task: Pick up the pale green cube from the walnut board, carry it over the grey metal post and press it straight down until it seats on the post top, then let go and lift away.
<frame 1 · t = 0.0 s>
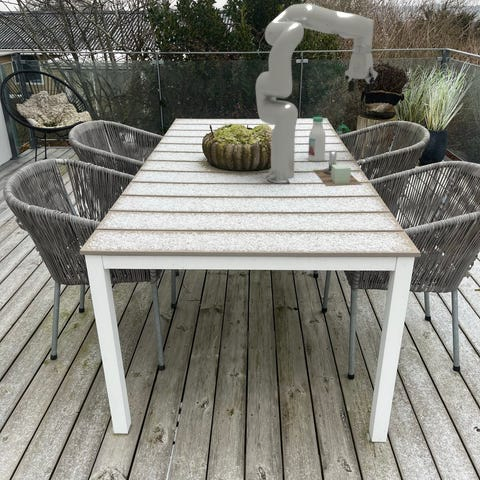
hand: (359, 92, 208), 31 cm above the table, tool pointing down, fingers open, 9 cm apart
board: (335, 180, 193), on the table
milk bottle: (316, 160, 225), on the table
pale green cube: (340, 181, 186), point 1 cm above the table, touching board
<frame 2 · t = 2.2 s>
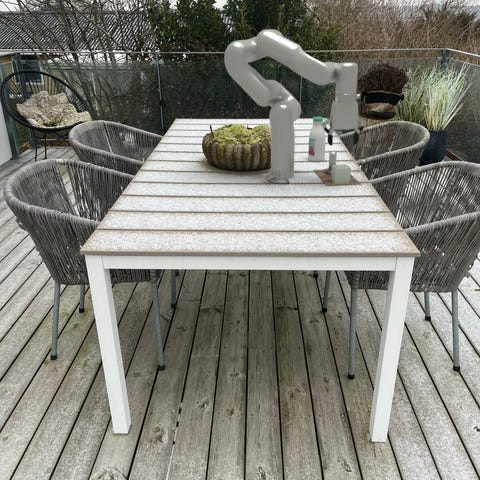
hand: (342, 144, 181), 16 cm above the table, tool pointing down, fingers open, 9 cm apart
nothing on the table moved.
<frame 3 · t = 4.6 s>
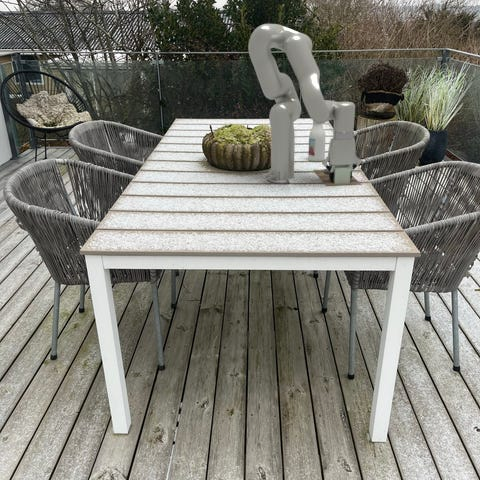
hand: (340, 180, 186), 2 cm above the table, tool pointing down, fingers closed on pale green cube, 5 cm apart
pale green cube: (340, 181, 186), point 1 cm above the table, touching board, gripper
everything else where it was.
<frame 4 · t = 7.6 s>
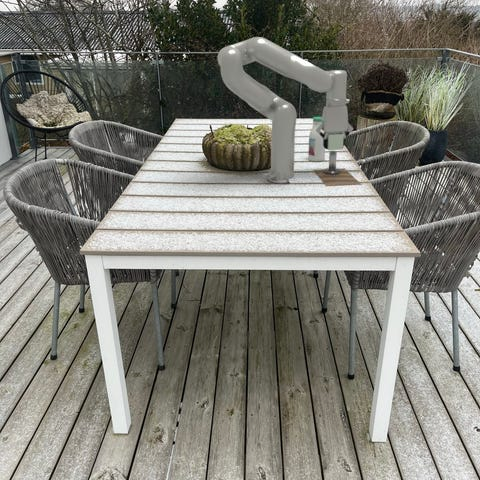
hand: (333, 147, 194), 12 cm above the table, tool pointing down, fingers closed on pale green cube, 5 cm apart
pale green cube: (333, 148, 194), point 12 cm above the table, touching gripper
everything else where it was.
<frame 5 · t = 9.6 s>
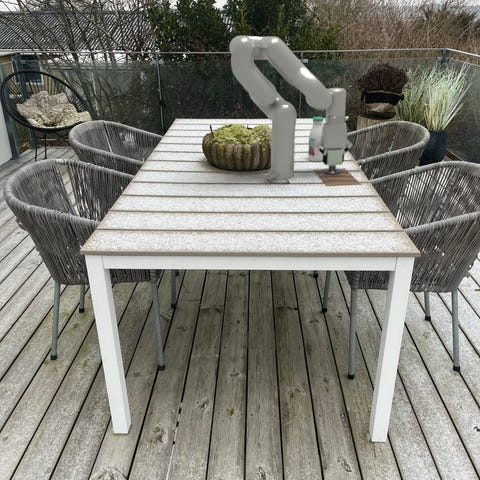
hand: (333, 163, 197), 5 cm above the table, tool pointing down, fingers closed on pale green cube, 6 cm apart
pale green cube: (333, 163, 197), point 5 cm above the table, touching board, gripper
everything else where it was.
when the fingers open (5 cm above the table, at t = 10.8 s): pale green cube stays where it is, resting on board.
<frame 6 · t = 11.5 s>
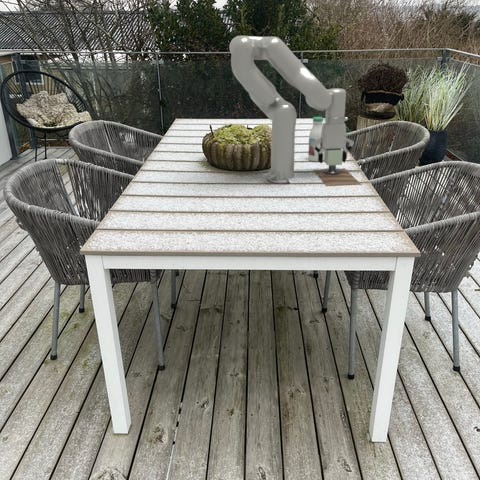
hand: (332, 162, 197), 6 cm above the table, tool pointing down, fingers open, 9 cm apart
pale green cube: (332, 163, 197), point 6 cm above the table, touching board
everything else where it was.
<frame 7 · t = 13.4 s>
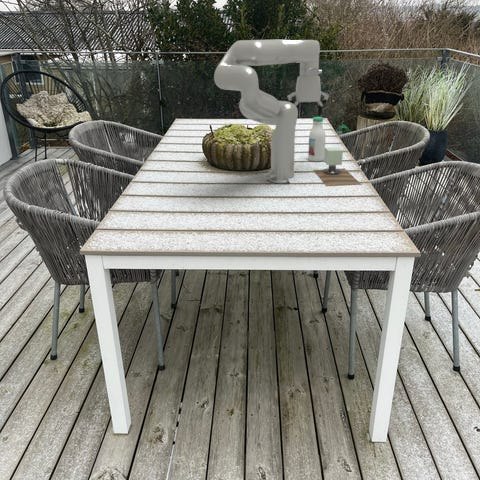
hand: (307, 115, 198), 24 cm above the table, tool pointing down, fingers open, 9 cm apart
nothing on the table moved.
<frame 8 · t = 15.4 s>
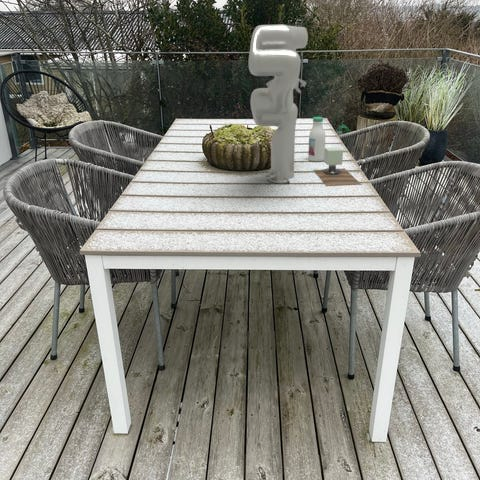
hand: (286, 102, 204), 28 cm above the table, tool pointing down, fingers open, 9 cm apart
nothing on the table moved.
at the end: pale green cube 0.2 cm from the target spot on the board, point 5.5 cm above the board's base; pale green cube tilted 1°; the gripper is holding nothing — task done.
